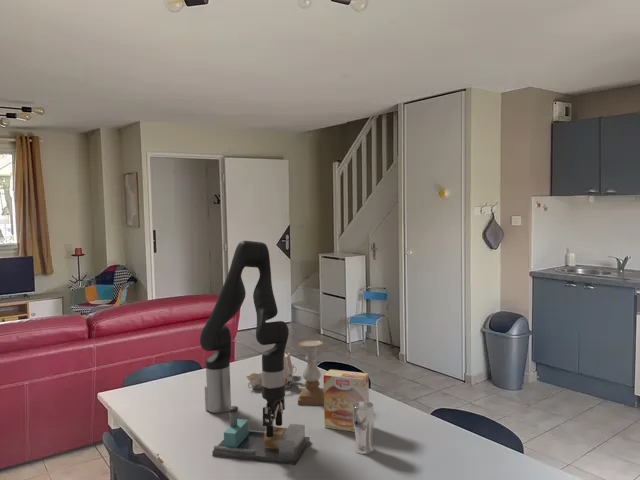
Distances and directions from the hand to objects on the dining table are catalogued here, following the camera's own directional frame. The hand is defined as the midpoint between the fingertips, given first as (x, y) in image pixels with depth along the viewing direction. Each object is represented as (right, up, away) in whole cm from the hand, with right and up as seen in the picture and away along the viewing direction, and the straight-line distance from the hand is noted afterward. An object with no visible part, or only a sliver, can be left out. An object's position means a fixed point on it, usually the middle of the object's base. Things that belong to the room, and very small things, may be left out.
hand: (274, 430), depth 168 cm
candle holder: (+12, -3, +43) cm, 45 cm away
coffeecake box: (+25, -5, +17) cm, 30 cm away
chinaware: (-5, -3, +63) cm, 63 cm away
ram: (-13, -5, +4) cm, 15 cm away
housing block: (0, -5, 0) cm, 5 cm away
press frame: (-4, -6, +2) cm, 8 cm away
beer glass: (+29, -6, -1) cm, 30 cm away
